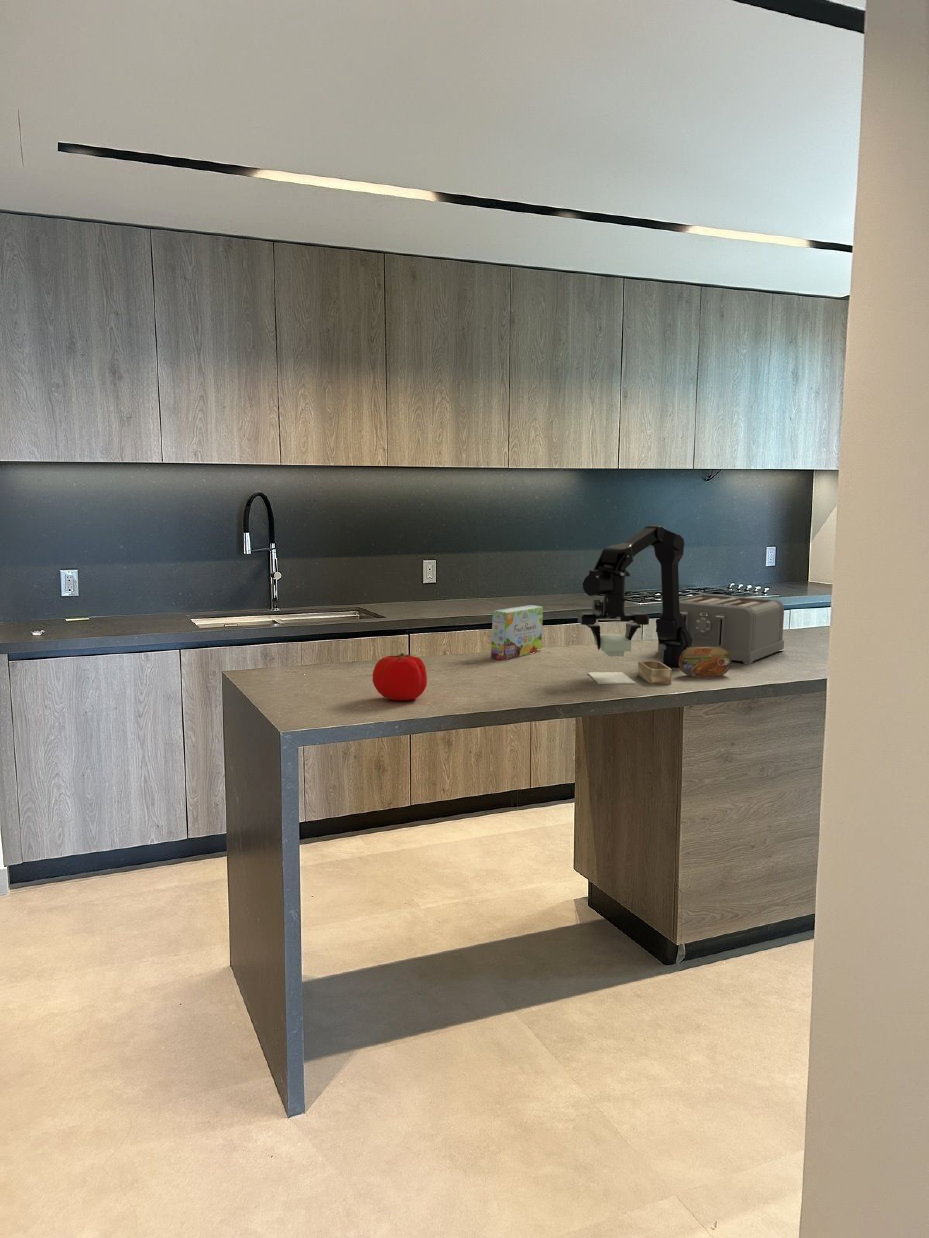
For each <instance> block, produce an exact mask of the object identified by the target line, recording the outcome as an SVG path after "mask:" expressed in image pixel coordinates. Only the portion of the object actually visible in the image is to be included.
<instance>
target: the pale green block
mask: <svg viewBox="0 0 929 1238" xmlns="http://www.w3.org/2000/svg"><path fill="white" fill-rule="evenodd" d="M594 644H595V645H596V642H595V641H594ZM600 650H601V652H603V653H604V654H605V655H607V656H608V657H624V656H625V652H632V640H631V641H630V640H629V639H627V638H626V637H625V636H624V635H622V634H621V633H600Z"/></svg>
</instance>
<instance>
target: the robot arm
mask: <svg viewBox="0 0 929 1238" xmlns="http://www.w3.org/2000/svg"><path fill="white" fill-rule="evenodd" d="M650 546H651V547H652V548H653V551H654V556H655V558H656V560H657V561H658V562H659V564H660V577H661V583H660V584H661V609H662V614H661V613H660V616H659V618H656V620H655V627H656V628H655V632H656V635H657V641H658V642H659V644H663V649H662V650H661V653H660V662H661V663H663V664H664V665H666V666H667V667H669V668H680V667H679V657H680V655H681V653H682V652H683V651H684V650H686V648H687V647H689V646H691V644H692V638H691V636H690V634H689V633H688V631H687V629H686V622H685V619H684V618H683V616H682V614H681V613H680V608H679V599H680V587H679V586H680V582H679V563H680V561H681V560H682V557H683V556H684V550H685V549H684V548H685V540H684V538H683V537H682V536H681V535H680V534H676V533H675V532H672V531H671V530H669V529H666V528H664V527H663V526H662V525H651V524H649V525H646V526H644V528H643V529H641V530H640V531H639V532H637V533H636V534H634V535H632V536H631V537H630V538H627V539H626V540H625V541H623V542H622V543H618V544H612V545H609V546H606V547H605V548H603V549H602V551H601V553H600V556H599V558H598V560H597V562H596V564H595V565H594V568H593V570H591V569H590V570H589V571H588V575H586V577H584V579H583V582H582V589H583V591H584V593H585V594H586V595H587V596H589V597H590V596H591V597H595V596H602V601H601V599H593V600H592V606H591V607H592V611H591V612H587V611H585V612H584V611H582V612H579V613H578V615H577V623H579V624H580V625H581V626H586V627H588V628H589V629H590V631H591V632H592V634H593V637H594V643H595V642H596V644H595V646H596V649H597V650H598V651H599V650H601V648H600V634H601V626H600V625H599V623H601V622H602V623H603V622H604V623H607V622H609V623H611V622H612V623H615V622H616V623H617V622H618V623H619V622H620V623H623V622H624V623H625V636H624V637H626V638H627V639H629V640H630V641H631V642H632V638H633V637H634V635H635V633H636V632H637V630H638V629H640V628H642V626H646V625H647V626H649V624H650V617H649V615H648V614H646V613H645V612H643V611H642V612H641V611H640V612H639V611H636V612H635V611H631V612H630V614H627V615H626V613H625V603H626V597H625V594H626V593H625V592H626V577H630V576H631V574H630V573H629V571H628V570H627V568H628V567H629V566H630V565H631V564H632V563H633V562H634V557H635V556H636V555H638V554H639V553H641V552H642V551H644V550H645V549H647V548H648V547H650ZM596 613H598V615H597V614H596ZM658 642H657V643H658Z"/></svg>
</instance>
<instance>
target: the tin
mask: <svg viewBox="0 0 929 1238" xmlns="http://www.w3.org/2000/svg"><path fill="white" fill-rule="evenodd" d="M731 667H732V660H731V656H730V654H729V652H728V651H727V650H726V649H724V648H721V647H694V648H688V649H686V650H684V651H683V652H682V653H681V655H680V657H679V667H678V668H679V669H680V671H681V672H682V673H683V674H685V675H686V676H689V677H691V678H704V677H711V678H712V677H721V676H724V675H725V674H727V673H728V672H729V671H730V669H731Z"/></svg>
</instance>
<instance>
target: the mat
mask: <svg viewBox="0 0 929 1238" xmlns="http://www.w3.org/2000/svg"><path fill="white" fill-rule="evenodd" d="M588 674H589V675H588ZM587 675H588V676H590V677H591V678H592V679H593V681H595V682H596V683H597V684H598V685H635V684H636V681H635V680H633V679H632V678H630V677H629V676H628V675H626V674H625V673H624V672H621V671H620V672H619V671H615V672H609V671H608V672H607V671H606V672H598V671H597V672H593V671H592V672H591V671H590V672H587Z"/></svg>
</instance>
